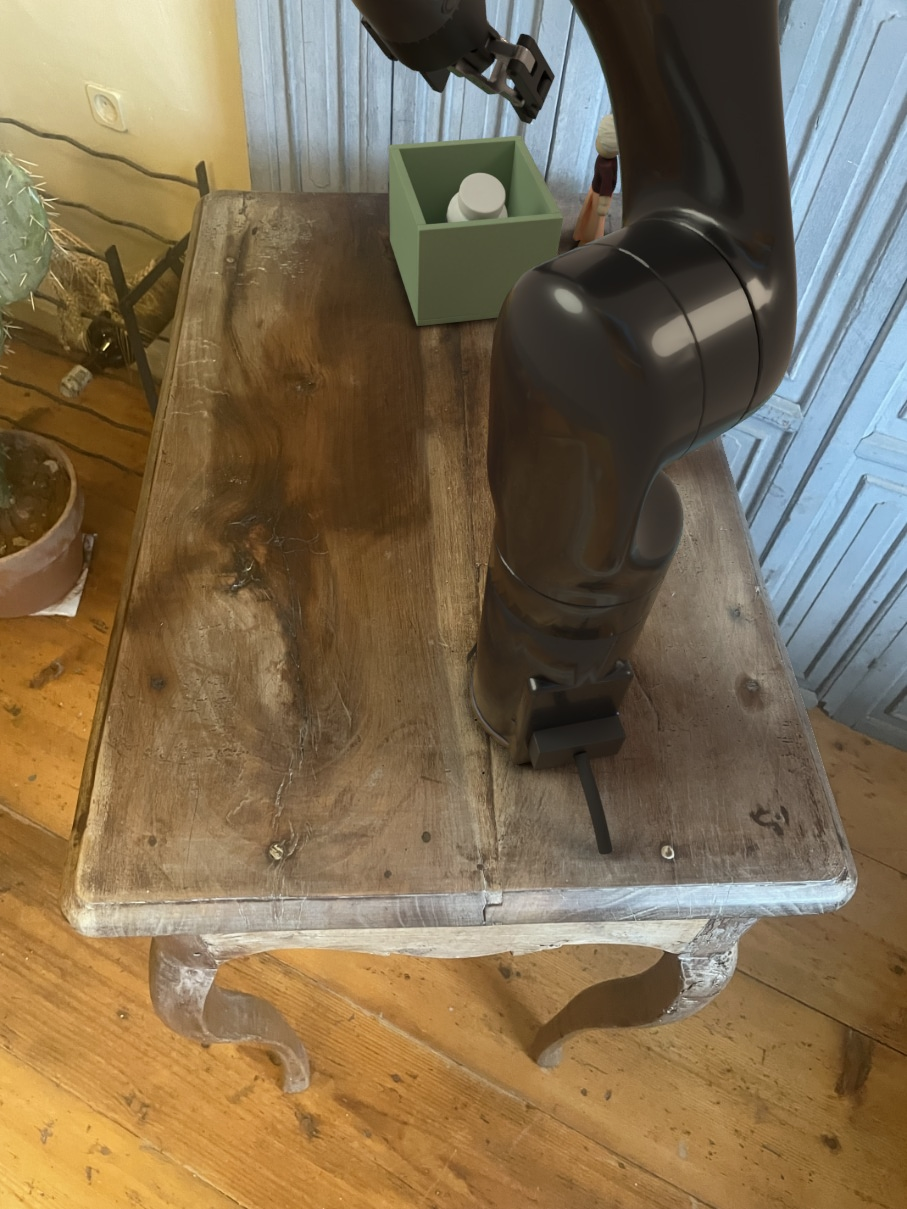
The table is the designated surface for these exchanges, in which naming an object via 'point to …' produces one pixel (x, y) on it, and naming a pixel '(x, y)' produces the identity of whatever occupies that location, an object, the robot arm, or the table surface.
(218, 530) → the table surface
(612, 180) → the grandmother figurine
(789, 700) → the table surface
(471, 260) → the bin
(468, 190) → the pill bottle
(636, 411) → the robot arm
